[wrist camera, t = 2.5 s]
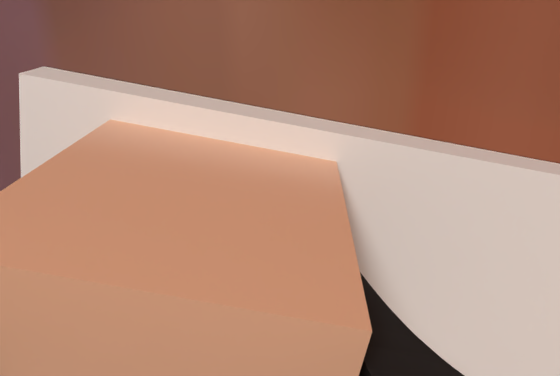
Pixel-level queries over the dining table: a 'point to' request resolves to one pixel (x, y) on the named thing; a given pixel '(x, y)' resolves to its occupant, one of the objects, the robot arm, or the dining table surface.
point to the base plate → (376, 211)
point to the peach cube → (178, 262)
